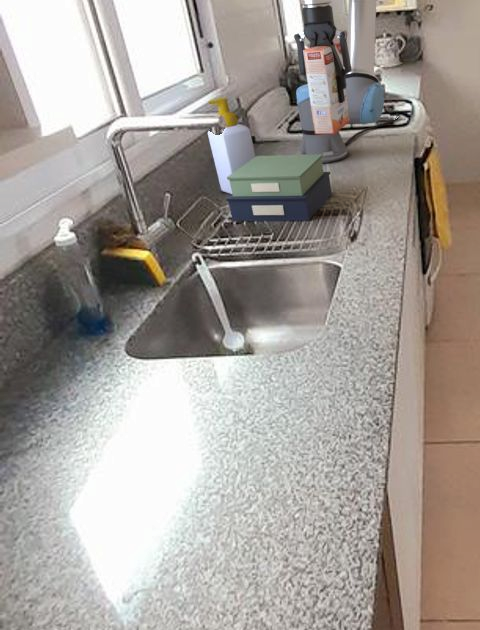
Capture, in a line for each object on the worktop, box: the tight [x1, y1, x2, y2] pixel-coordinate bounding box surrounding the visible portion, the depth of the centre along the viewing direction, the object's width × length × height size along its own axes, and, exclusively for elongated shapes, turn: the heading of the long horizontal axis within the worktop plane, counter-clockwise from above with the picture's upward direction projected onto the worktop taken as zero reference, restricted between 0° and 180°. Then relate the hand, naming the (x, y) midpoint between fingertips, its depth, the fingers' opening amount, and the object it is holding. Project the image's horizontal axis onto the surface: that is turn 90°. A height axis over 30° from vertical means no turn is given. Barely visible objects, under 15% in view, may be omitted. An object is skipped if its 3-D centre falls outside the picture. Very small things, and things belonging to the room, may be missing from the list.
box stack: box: [225, 154, 333, 222], centre depth 155 cm, size 21×21×11 cm
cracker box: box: [303, 42, 350, 134], centre depth 159 cm, size 14×6×21 cm, turn 169°
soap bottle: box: [207, 97, 256, 195], centre depth 166 cm, size 9×9×25 cm
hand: (329, 102), depth 161 cm, fingers closed on cracker box, 6 cm apart
